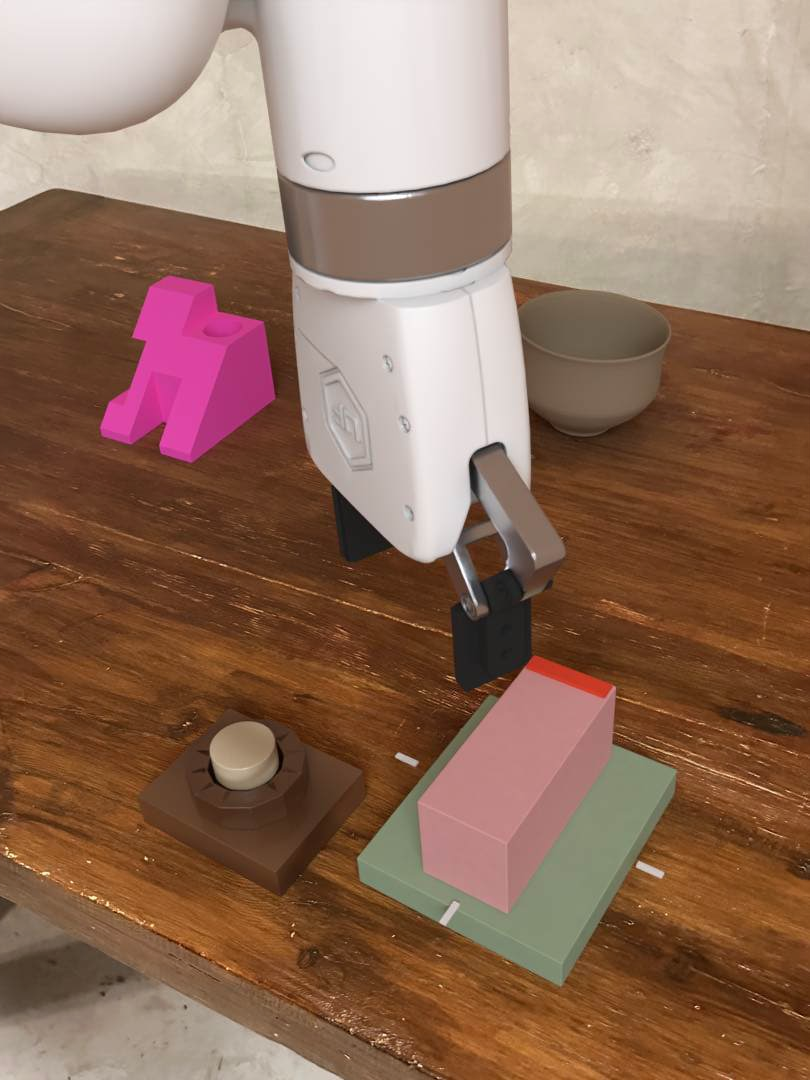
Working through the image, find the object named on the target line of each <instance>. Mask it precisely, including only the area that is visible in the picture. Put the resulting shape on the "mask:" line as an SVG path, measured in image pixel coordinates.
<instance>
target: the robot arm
mask: <svg viewBox="0 0 810 1080" xmlns="http://www.w3.org/2000/svg"><path fill="white" fill-rule="evenodd" d="M237 29H243V30H246V31H247V32H249V33H250V34H251V35H252V36H253V37H254V39H255V41H256V43H257V46H258V47H257V48H258V53H259V58H260V59H259V60H260V66H261V72H262V73H261V75H262V79H263V86H264V87H263V88H264V93H265V101H266V108H267V115H268V123H269V128H270V136H271V142H272V149H273V155H274V163H275V167H276V176H277V182H278V183H277V184H278V191H279V197H280V203H281V211H282V217H283V218H282V219H283V224H284V233H285V238H286V245H287V250H288V251H287V252H288V259H289V266H290V269H291V271H292V272H291V297H292V319H293V333H294V345H295V357H296V368H297V377H298V379H297V380H298V388H299V397H300V398H299V399H300V406H301V415H302V424H303V433H304V441H305V446H306V449H307V452H308V454H309V456H310V458H311V460H312V461H313V464H314V465H315V466H316V467H317V469H318V470H319V472H321V473H322V475H323V476H324V477H325V478H326V480H328V481H329V482H330V483H331V485H330V490H331V497H332V505H333V511H334V518H335V519H334V520H335V525H336V527H335V528H336V533H337V539H338V540H337V541H338V547H339V554H340V555H341V557H342V558H343V559H344V560H345V561H346V562H347V563H356V562H359V561H362V560H364V559H367V558H369V557H372V556H374V555H376V554H380V553H381V552H384V551H387V550H389V549H392V548H396V550H398V551H399V552H400V553H401V554H403V555H404V556H406V557H408V558H410V559H411V560H414V561H416V562H419V563H423V564H430V563H433V562H435V561H436V560H437V559H439V558H442V561H443V563H444V565H445V568H446V571H447V572H448V575H449V577H450V580H451V582H452V583H451V584H452V585H453V588H454V590H455V592H456V595H457V597H458V600H459V602H457V603H455V604H454V605H453V606H451V607H450V622H451V623H450V624H451V636H452V638H451V639H452V652H453V653H452V654H453V665H454V666H453V667H454V679H455V682H456V683H457V685H458V686H459V687H460V688H461V689H462V690H463V691H464V692H472V691H473V690H475V689H478V688H481V687H482V686H484V685H486V684H489V683H490V682H492V681H495V680H497V679H499V678H501V677H503V676H506V675H507V674H509V673H513V672H515V671H516V670H518V669H521V668H522V667H523V668H524V667H525V666H526V665H527V664H528V662H529V661H530V660H531V659H532V657H533V643H532V642H533V636H532V634H533V633H532V630H533V629H532V597H534V596H537V595H538V594H540V593H543V592H545V591H547V590H549V589H552V587H553V584H554V578H555V576H556V575H557V572H558V571H559V569H560V567H561V566H562V564H563V563H564V561H565V559H566V556H567V552H566V546H565V544H564V541H563V540H562V538H561V537H560V535H559V533H558V532H557V530H556V529H555V527H554V526H553V523H552V522H551V521H550V520H549V518H548V516H547V515H546V514H545V512H544V510H543V508H542V507H541V505H540V504H539V503H538V501H537V500H536V498H535V496H534V495H533V494H532V492H531V483H532V482H531V481H532V448H531V424H530V412H529V411H530V410H529V406H528V398H527V386H526V374H525V364H524V355H523V347H522V339H521V332H520V325H519V318H518V311H517V310H518V305H517V301H516V295H515V290H514V284H513V277H512V271H511V268H510V267H509V265H507V263H506V262H507V261H508V260H509V258H510V256H511V254H512V252H513V208H512V207H513V195H512V155H511V154H512V150H511V123H510V116H511V115H510V114H511V101H510V100H511V95H510V90H511V89H510V50H509V49H510V48H509V47H510V46H509V44H510V43H509V39H510V38H509V0H0V124H1V125H4V126H8V127H12V128H19V129H22V130H26V131H32V132H39V133H44V134H45V133H46V134H57V135H58V134H59V135H61V134H62V135H69V136H70V135H73V136H88V135H97V134H108V133H115V132H118V131H121V130H124V129H127V128H131V127H134V126H137V125H139V124H142V123H145V122H147V121H149V120H152V118H154V117H156V116H157V115H159V114H160V113H163V112H164V111H166V110H167V109H169V108H170V107H171V106H173V105H174V104H176V103H177V102H178V101H179V100H180V99H181V98H182V97H183V96H184V95H185V94H186V93H187V92H188V91H189V90H191V88H192V86H193V85H194V84H195V83H196V81H197V80H198V79H199V78H200V77H201V75H202V73H203V72H204V70H205V68H206V66H207V64H208V63H209V61H210V60H211V57H212V55H213V52H214V50H215V48H216V45H217V42H218V40H219V38H220V36H221V34H222V33H225V32H226V31H231V30H237ZM477 503H479V504H480V505H481V507H482V509H483V510H484V511H485V513H486V515H487V517H488V518H486V519H484V520H482V521H479V522H477V523H475V524H471V525H470V526H466V527H465V528H464V525H465V523H466V520H467V516H468V514H469V510H470V508H471V506H472V505H475V504H477ZM491 536H492V537H493V540H494V542H495V545H496V547H497V549H498V551H499V554H500V556H501V559H502V562H503V564H504V566H505V568H504V569H503V570H501V571H499V572H496V573H494V574H493V575H491V576H489V577H487V578H485V579H483V580H480V577H479V575H478V573H477V570H476V567H475V565H474V563H473V560H472V558H471V555H470V553H469V551H468V548H467V546H470V545H472V544H475V543H477V542H479V541H482V540H484V539H487V538H489V537H491Z"/></svg>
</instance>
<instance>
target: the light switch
mask: <svg viewBox="0 0 810 1080" xmlns="http://www.w3.org/2000/svg"><path fill="white" fill-rule="evenodd" d="M243 721H252V722H258V723H261V724H263V725H265V726H267V727H268V728H269V729H270V730H271V731H272V733H273V734H274V737H275V741H276V747H277V752H278V757H279V766H278V769H277V771H276V773H275V775H274V776H273V777H272V779H270V780H269V781H268V782H267V783H266V784H264V785H262V786H260V787H258V788H255V789H252V790H247V791H236V790H231V789H228V788H226V787H224V786H223V785H222V784H220V783H219V781H218V780H217V779H216V777H215V773H214V769H213V765H212V761H211V757H210V744H211V742H212V740H213V738H214V737H215V735H216V734H217V733H218V732H219V731H220V730H222V729H223V728H225V727H227V726H229V725H231V724H234V723H237V722H243ZM366 797H367V788H366V781H365V774H364V770H362V769H360V768H358V767H356V766H354V765H353V764H349V763H348V762H345V761H344V760H341V759H339V758H337V757H335V756H332V755H331V754H328V753H327V752H324V751H322V750H320V749H317V748H316V747H313V746H311V745H310V744H307V743H305V742H302V741H301V739H300V737H299V736H298V734H297V732H296V730H293V729H291V728H290V727H288V726H285V725H283V724H281V723H279V722H276V721H274V720H272V719H269V718H268V719H266V718H265V719H264V718H263V719H262V718H261V719H259V718H256V719H253V718H251V717H250V716H248V715H245V714H243V713H241V712H239V711H237V710H235V709H232V708H228V709H226V711H224V712H223V713H222V715H220V716H219V717H218V718H217V719H216V720H215V721H214V722H213V723H212V724H211V725H210V726H209V727H207V729H205V730H204V731H203V733H201V734H200V735H199V736H198V737H197V739H195V740H194V741H193V742H192V743H191V744H189V746H188V747H186V749H185V750H184V751H183V752H181V754H179V756H177V757H176V758H175V759H174V760H173V762H171V763H170V764H169V765H168V766H167V767H166V768H165V769H164V770H163V771H162V772H160V774H158V776H156V777H155V778H154V779H153V780H152V781H151V782H150V783H149V784H148V785H147V786H146V787H145V788H144V789H143V790H142V791H141V792H140V793H138V795H137V796H136V798H137V802H138V804H139V807H140V808H139V809H140V811H141V815H142V817H143V821H144V823H146V824H149V825H150V826H152V827H154V828H156V829H157V830H159V831H161V832H162V833H164V834H166V835H168V836H170V837H172V838H173V839H175V840H176V841H178V842H181V843H182V844H184V845H186V846H188V847H190V848H191V849H193V850H195V851H197V852H198V853H199V854H202V855H204V856H205V857H207V858H209V859H211V860H213V861H214V862H217V863H218V864H220V865H222V866H223V867H225V868H227V869H229V870H230V871H232V872H234V873H236V874H238V875H240V876H241V877H243V878H245V879H247V880H249V881H250V882H252V883H253V884H256V885H258V886H259V887H261V888H263V889H265V890H266V891H268V892H270V893H272V894H274V895H275V896H277V897H279V898H282V897H283V896H284V895H285V894H286V892H287V891H288V890H289V889H290V887H291V886H292V885H293V884H294V883H295V881H296V880H298V878H299V877H300V876H301V875H302V873H303V872H304V871H305V869H307V868H308V866H309V865H310V864H311V863H312V861H313V860H314V859H315V858H316V857H317V856H318V854H319V853H320V852H321V851H322V849H323V848H324V847H325V846H326V845H327V844H328V843H329V841H330V840H331V839H332V838H333V837H334V835H335V834H336V833H337V832H338V831H339V829H341V827H342V826H343V825H344V824H345V822H346V821H347V820H348V819H349V818H350V817H351V816H352V815H353V813H354V812H355V811H356V810H357V808H358V807H359V806H360V805H361V804H362V802H363V801H365V799H366Z"/></svg>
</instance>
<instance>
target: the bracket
mask: <svg viewBox="0 0 810 1080" xmlns="http://www.w3.org/2000/svg"><path fill="white" fill-rule="evenodd" d="M147 291H148V292H147V294H146V297H145V298H144V302H143V304H142V307H141V311H140V314H139V316H138V319H137V322H136V325H135V327H134V330H133V332H132V333H133V334H132V336H131V338H132V339H136V340H139V341H144V342H145V345H144V347H143V350H142V353H141V355H140V359H139V361H138V364H137V367H136V370H135V373H134V376H133V378H132V381H131V384H130V387H129V388H128V389H127V390H125V391H124V392H122V393H121V394H119V395H117V396H116V397H115V398H113V399H111V400H110V401H109V402H108V404H107V407H106V409H105V413H104V415H103V419H102V421H101V424H100V426H99V429H100V433H101V436H102V437H103V438H107V439H111V440H114V441H117V442H121V443H124V444H127V445H133V444H135V443H136V442H138V441H139V440H140V439H141V438H143V437H145V436H146V435H147V434H149V433H150V432H152V431H153V430H154V429H156V428H157V427H159V426H160V425H161V424H162V423H166V424H165V427H164V430H163V433H162V436H161V440H160V442H159V445H158V447H159V451H160V454H161V455H164V456H167V457H170V458H174V459H177V460H180V461H183V462H186V463H191V464H193V463H194V462H195V461H196V460H198V459H199V458H201V457H202V456H203V455H204V454H205V453H207V452H208V451H209V450H211V449H212V448H213V447H215V446H216V445H218V443H220V442H221V441H223V440H224V439H225V438H226V437H228V436H229V435H231V434H232V433H234V432H235V430H237V429H238V428H240V427H241V426H242V425H244V424H245V423H246V422H248V421H249V420H250V419H252V417H254V416H255V415H257V414H258V413H259V412H260V411H262V410H263V409H264V408H265V407H267V406H268V405H270V404H271V403H272V402H273V401H274V400H276V393H275V392H276V391H275V387H274V380H273V373H272V367H271V359H270V352H269V346H268V339H267V334H266V333H267V332H266V326H265V321H263V320H258V319H254V318H249V317H246V316H240V315H237V314H236V315H235V314H231V313H226V312H222V311H219V310H218V304H217V303H218V302H217V298H216V293H215V287H214V284H212V283H207V282H202V281H198V280H193V279H187V278H183V277H178V276H173V275H167V276H165V277H164V278H162V279H161V280H158V281H157V282H155V283H153V284H152V285H150V286H149V288H148V290H147Z"/></svg>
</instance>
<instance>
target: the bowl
mask: <svg viewBox="0 0 810 1080" xmlns="http://www.w3.org/2000/svg"><path fill="white" fill-rule="evenodd" d="M517 311H518V318H519V325H520V332H521V339H522V347H523V355H524V364H525V374H526V386H527V398H528V408H530V409H531V410H532V411H533V412H535V413H536V415H538V416H540V417H541V418H543V419H544V420H546V421H547V422H549V425H551V426H552V427H553V428H554V429H555V430H557V431H558V432H561V433H562V434H565V435H569V436H572V437H581V438H585V437H588V438H589V437H595V436H598V435H601V434H604V433H606V432H607V431H608V430H609V429H612V428H615V427H617V426H619V425H622V424H625V423H627V422H629V421H630V420H633V419H635V417H637V416H638V415H639V414H641V413H642V412H643V411H644V410H645V409H646V408H647V407H648V406H650V405H651V403H652V402H653V401H654V400H655V398H656V396H657V394H658V392H659V389H660V385H661V381H662V373H663V365H664V360H665V354H666V350H667V346H668V345H669V342H670V340H671V338H672V333H673V331H672V326H671V324H670V322H669V320H668V319H667V317H666V316H665V315H664V314H663V313H662V312H660V311H659V310H658V309H656V308H655V307H653V306H652V305H650V304H648V303H646V302H644V301H641V300H639V299H636V298H634V297H631V296H627V295H624V294H621V293H616V292H611V291H604V290H597V289H596V290H595V289H566V290H557V291H551V292H546V293H543V294H539V295H537V296H534V297H532V298H530V299H528V300H527V301H525V302H524V303H522V304H521V305H520V306H519V307H517Z"/></svg>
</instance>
